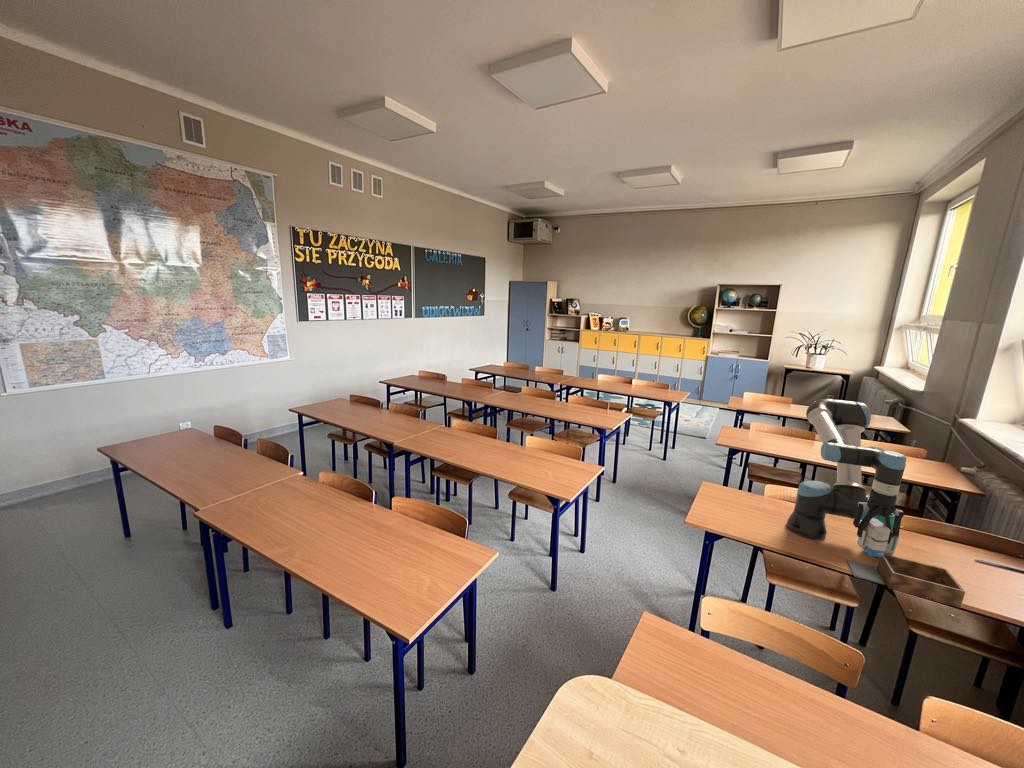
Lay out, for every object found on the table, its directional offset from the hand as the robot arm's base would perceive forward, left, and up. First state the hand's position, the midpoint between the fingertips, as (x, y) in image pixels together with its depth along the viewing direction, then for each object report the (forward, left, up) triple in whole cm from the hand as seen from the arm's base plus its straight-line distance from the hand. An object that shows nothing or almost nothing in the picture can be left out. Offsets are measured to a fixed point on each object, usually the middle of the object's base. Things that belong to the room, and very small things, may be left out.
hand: (870, 547), depth 162 cm
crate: (+15, 0, -11) cm, 19 cm away
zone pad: (0, 0, -11) cm, 11 cm away
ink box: (0, 0, -2) cm, 2 cm away
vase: (+8, +18, -11) cm, 23 cm away
